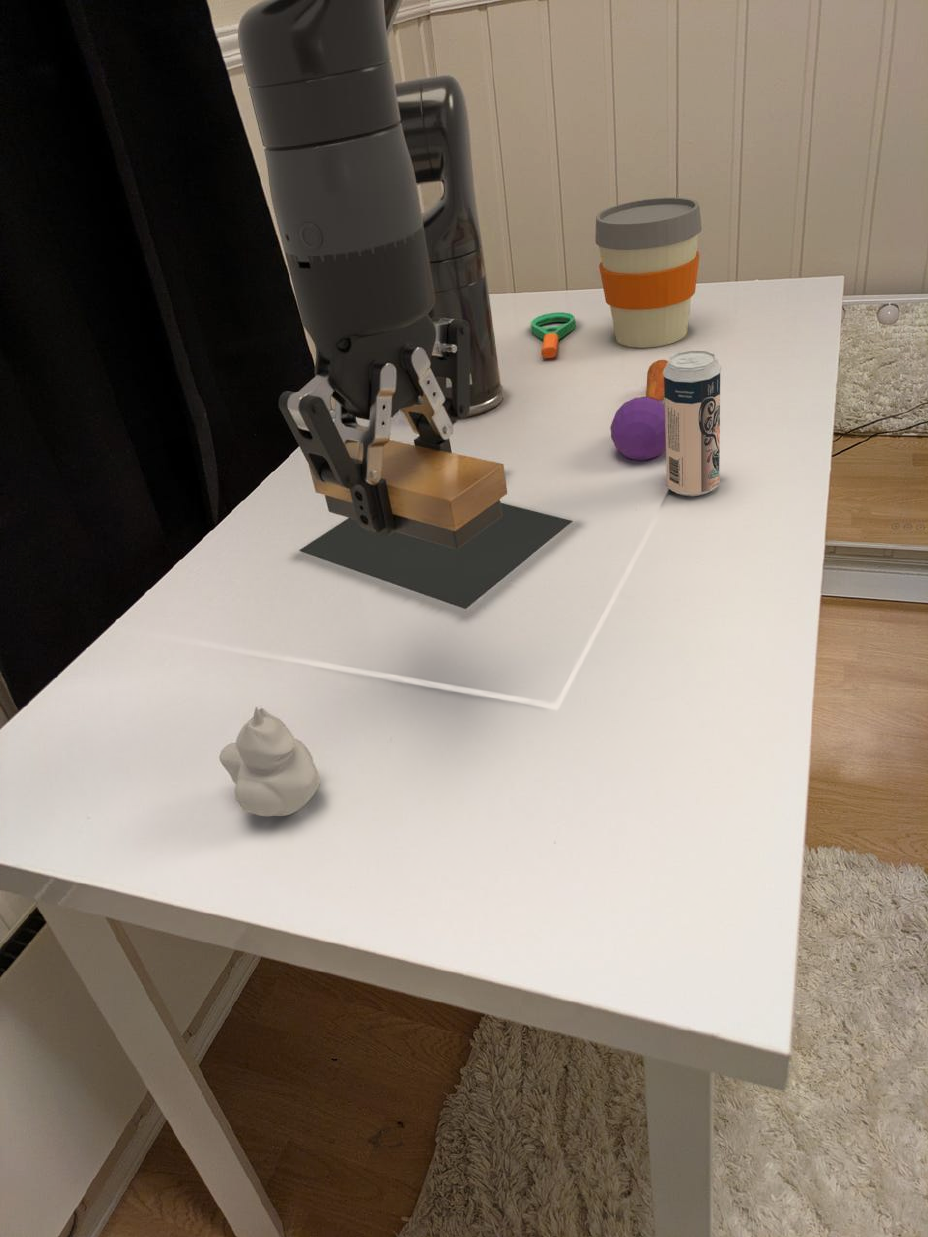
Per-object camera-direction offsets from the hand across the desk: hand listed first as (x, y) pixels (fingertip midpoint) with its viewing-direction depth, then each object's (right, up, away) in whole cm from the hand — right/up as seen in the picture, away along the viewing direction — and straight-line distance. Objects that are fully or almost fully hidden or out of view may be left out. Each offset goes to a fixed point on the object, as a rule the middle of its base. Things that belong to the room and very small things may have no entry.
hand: (410, 511), depth 58 cm
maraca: (+23, +13, +37) cm, 45 cm away
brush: (0, 0, 0) cm, 0 cm away
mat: (+1, 0, +24) cm, 24 cm away
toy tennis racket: (+15, +30, +63) cm, 71 cm away
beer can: (+24, +5, +25) cm, 35 cm away
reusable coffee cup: (+27, +29, +59) cm, 71 cm away
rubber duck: (-8, -18, +1) cm, 20 cm away
